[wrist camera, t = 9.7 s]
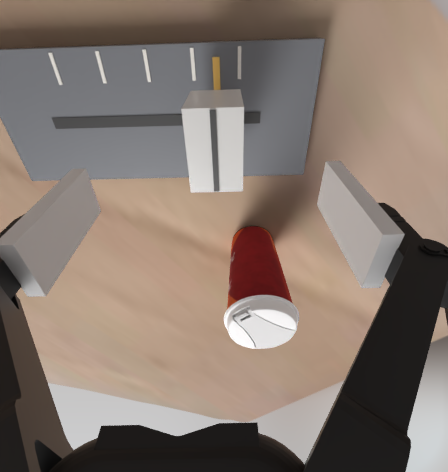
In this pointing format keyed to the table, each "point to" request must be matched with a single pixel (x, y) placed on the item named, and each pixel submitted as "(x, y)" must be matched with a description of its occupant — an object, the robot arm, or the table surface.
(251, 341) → the paper cup
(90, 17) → the table surface
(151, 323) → the table surface
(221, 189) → the fader
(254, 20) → the table surface
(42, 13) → the table surface
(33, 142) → the gray slider panel
